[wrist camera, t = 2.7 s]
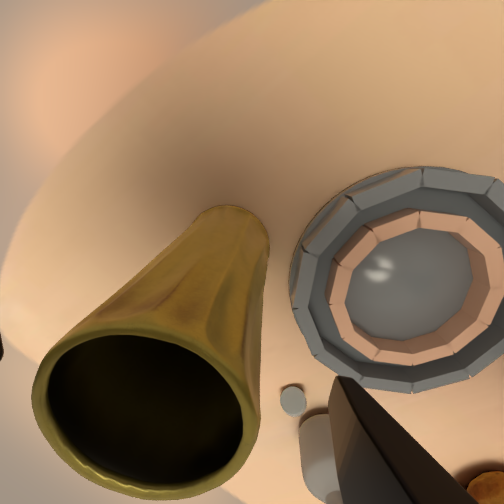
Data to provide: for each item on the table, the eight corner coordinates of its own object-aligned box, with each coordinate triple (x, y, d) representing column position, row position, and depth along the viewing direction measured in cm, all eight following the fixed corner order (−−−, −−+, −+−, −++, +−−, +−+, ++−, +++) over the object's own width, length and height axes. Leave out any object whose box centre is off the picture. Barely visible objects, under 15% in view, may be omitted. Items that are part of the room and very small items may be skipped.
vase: (219, 297, 21) (133, 539, 7) (170, 235, 19) (-49, 388, 6) (285, 257, 20) (330, 459, 6) (237, 187, 18) (157, 243, 5)
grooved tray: (561, 183, 17) (607, 185, 15) (467, 383, 22) (491, 408, 20) (310, 151, 17) (317, 148, 15) (274, 357, 22) (275, 378, 20)
